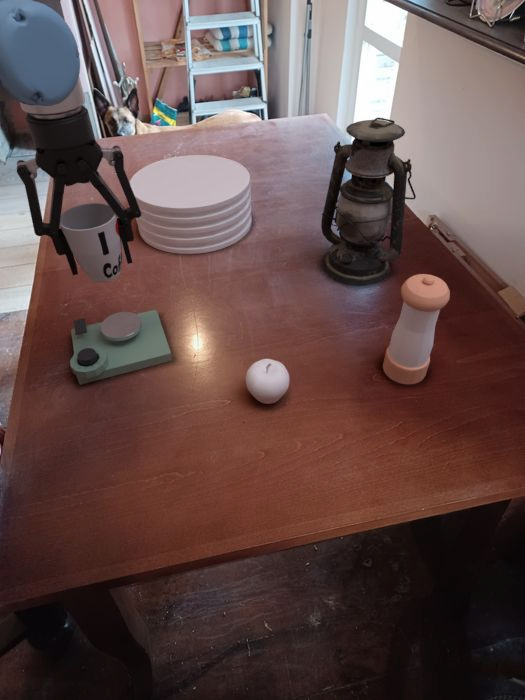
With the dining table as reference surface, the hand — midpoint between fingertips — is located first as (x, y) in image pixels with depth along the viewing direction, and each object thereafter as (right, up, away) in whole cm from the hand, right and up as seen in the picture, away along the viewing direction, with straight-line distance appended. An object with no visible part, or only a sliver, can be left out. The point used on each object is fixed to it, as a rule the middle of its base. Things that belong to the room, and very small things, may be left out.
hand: (102, 264), depth 75 cm
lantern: (+47, +6, +31) cm, 57 cm away
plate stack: (+9, +18, +44) cm, 49 cm away
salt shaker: (+50, -17, +7) cm, 53 cm away
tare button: (-4, -15, +6) cm, 17 cm away
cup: (0, -1, +1) cm, 2 cm away
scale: (0, -13, +12) cm, 18 cm away
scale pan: (-2, -10, +11) cm, 15 cm away
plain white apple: (+26, -21, +4) cm, 34 cm away
